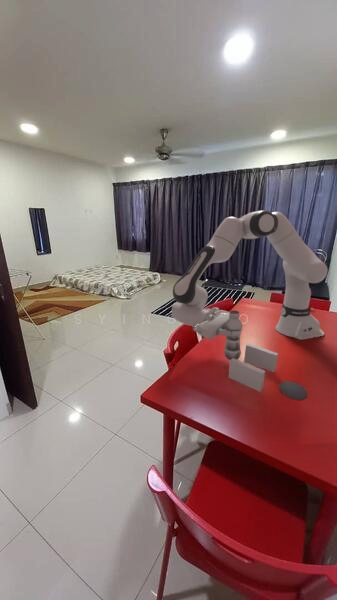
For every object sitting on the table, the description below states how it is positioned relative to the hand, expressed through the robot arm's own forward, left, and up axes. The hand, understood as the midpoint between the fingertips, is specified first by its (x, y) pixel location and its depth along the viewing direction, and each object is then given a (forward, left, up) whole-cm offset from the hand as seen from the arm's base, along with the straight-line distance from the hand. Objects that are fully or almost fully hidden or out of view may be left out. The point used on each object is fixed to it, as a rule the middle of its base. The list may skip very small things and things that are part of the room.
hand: (235, 330), depth 92 cm
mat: (-16, +16, -16) cm, 28 cm away
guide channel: (-6, +6, -16) cm, 18 cm away
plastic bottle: (0, -1, -13) cm, 13 cm away
